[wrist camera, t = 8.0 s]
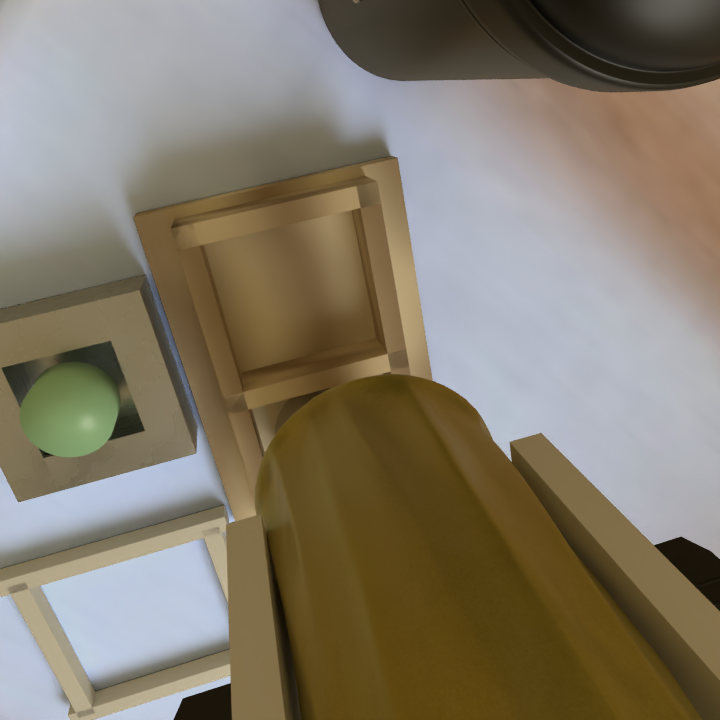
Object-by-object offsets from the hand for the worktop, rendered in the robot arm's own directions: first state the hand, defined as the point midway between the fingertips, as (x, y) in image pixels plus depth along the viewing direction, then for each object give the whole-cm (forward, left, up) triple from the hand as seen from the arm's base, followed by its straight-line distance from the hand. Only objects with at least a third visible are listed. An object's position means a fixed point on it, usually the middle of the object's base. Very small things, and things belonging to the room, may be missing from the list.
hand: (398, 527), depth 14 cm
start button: (-12, -2, -18) cm, 22 cm away
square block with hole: (-11, -2, -21) cm, 24 cm away
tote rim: (-13, -18, -21) cm, 31 cm away
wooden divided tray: (0, -4, -21) cm, 22 cm away
